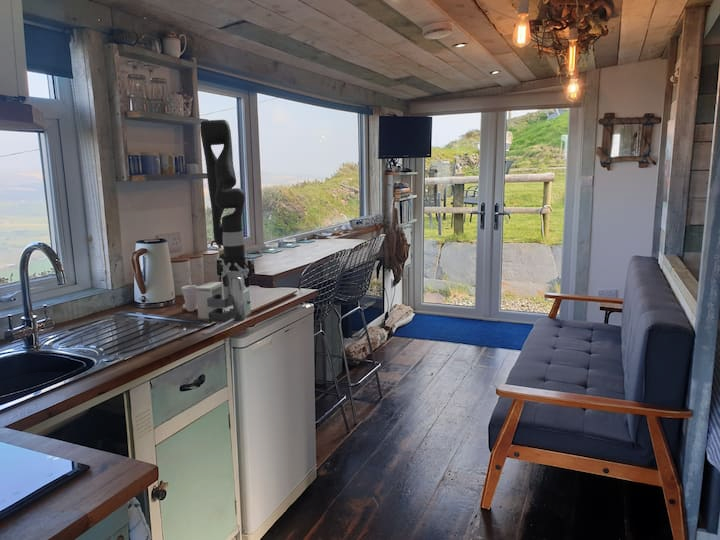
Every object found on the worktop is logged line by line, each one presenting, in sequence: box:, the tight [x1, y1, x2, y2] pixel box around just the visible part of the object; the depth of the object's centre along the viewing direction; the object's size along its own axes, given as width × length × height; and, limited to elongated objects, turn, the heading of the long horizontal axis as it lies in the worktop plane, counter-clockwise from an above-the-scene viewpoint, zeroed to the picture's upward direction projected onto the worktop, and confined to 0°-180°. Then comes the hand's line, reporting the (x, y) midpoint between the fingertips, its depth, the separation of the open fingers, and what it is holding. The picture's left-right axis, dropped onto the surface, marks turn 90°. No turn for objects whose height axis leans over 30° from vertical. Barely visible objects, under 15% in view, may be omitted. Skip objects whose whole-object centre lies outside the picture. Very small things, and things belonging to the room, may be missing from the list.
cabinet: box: [196, 281, 234, 323], centre depth 207 cm, size 13×13×12 cm
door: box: [231, 277, 252, 322], centre depth 204 cm, size 4×10×16 cm, turn 165°
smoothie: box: [180, 275, 199, 312], centre depth 217 cm, size 6×6×14 cm
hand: (237, 286), depth 201 cm, fingers open, 8 cm apart
